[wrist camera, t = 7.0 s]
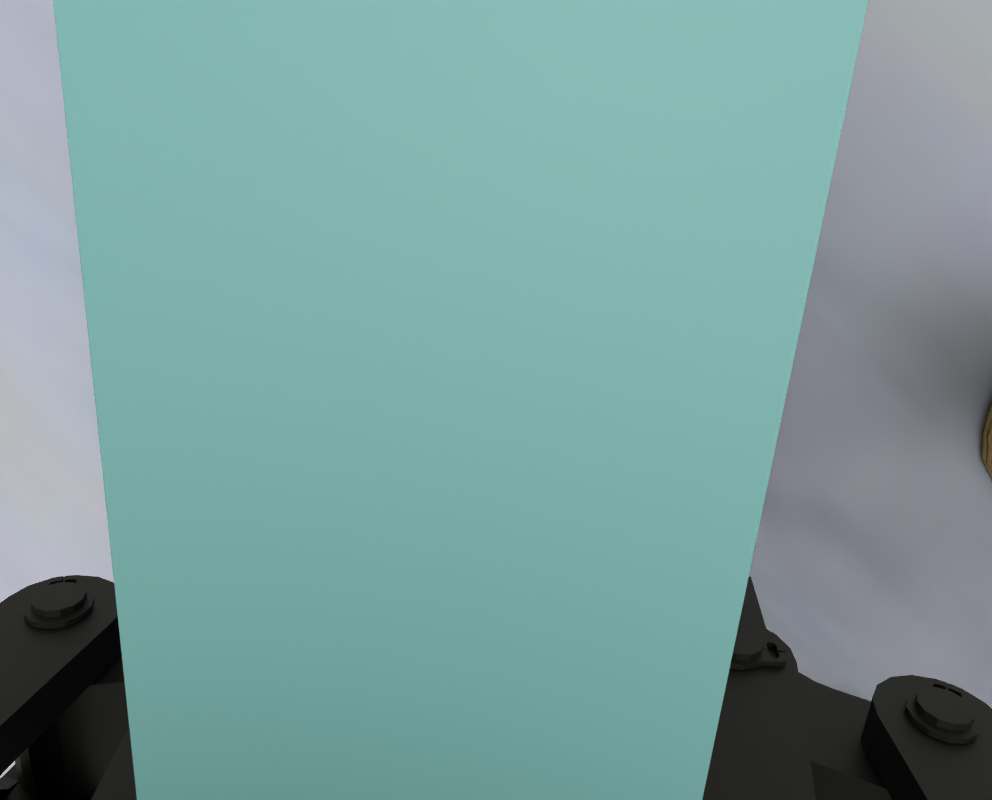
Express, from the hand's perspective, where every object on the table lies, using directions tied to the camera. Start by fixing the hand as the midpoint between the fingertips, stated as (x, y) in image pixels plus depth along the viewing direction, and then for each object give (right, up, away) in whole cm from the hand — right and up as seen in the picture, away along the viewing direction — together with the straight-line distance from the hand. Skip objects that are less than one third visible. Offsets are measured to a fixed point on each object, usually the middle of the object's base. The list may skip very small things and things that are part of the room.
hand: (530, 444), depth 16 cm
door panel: (0, +2, +4) cm, 4 cm away
